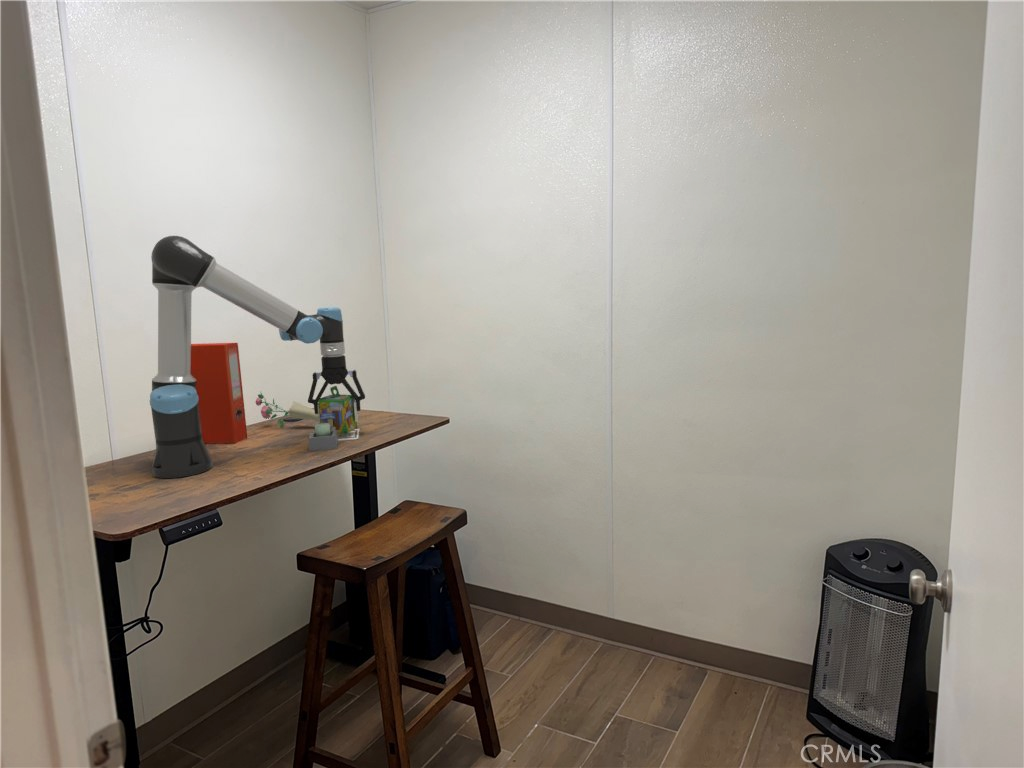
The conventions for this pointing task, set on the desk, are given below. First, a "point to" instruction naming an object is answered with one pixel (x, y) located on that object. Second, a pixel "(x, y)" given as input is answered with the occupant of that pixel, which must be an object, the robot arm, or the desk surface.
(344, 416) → the chalk box
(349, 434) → the white bordered panel
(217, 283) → the robot arm
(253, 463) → the desk surface
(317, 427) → the button
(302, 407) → the flower vase
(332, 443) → the button housing
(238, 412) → the file binder
